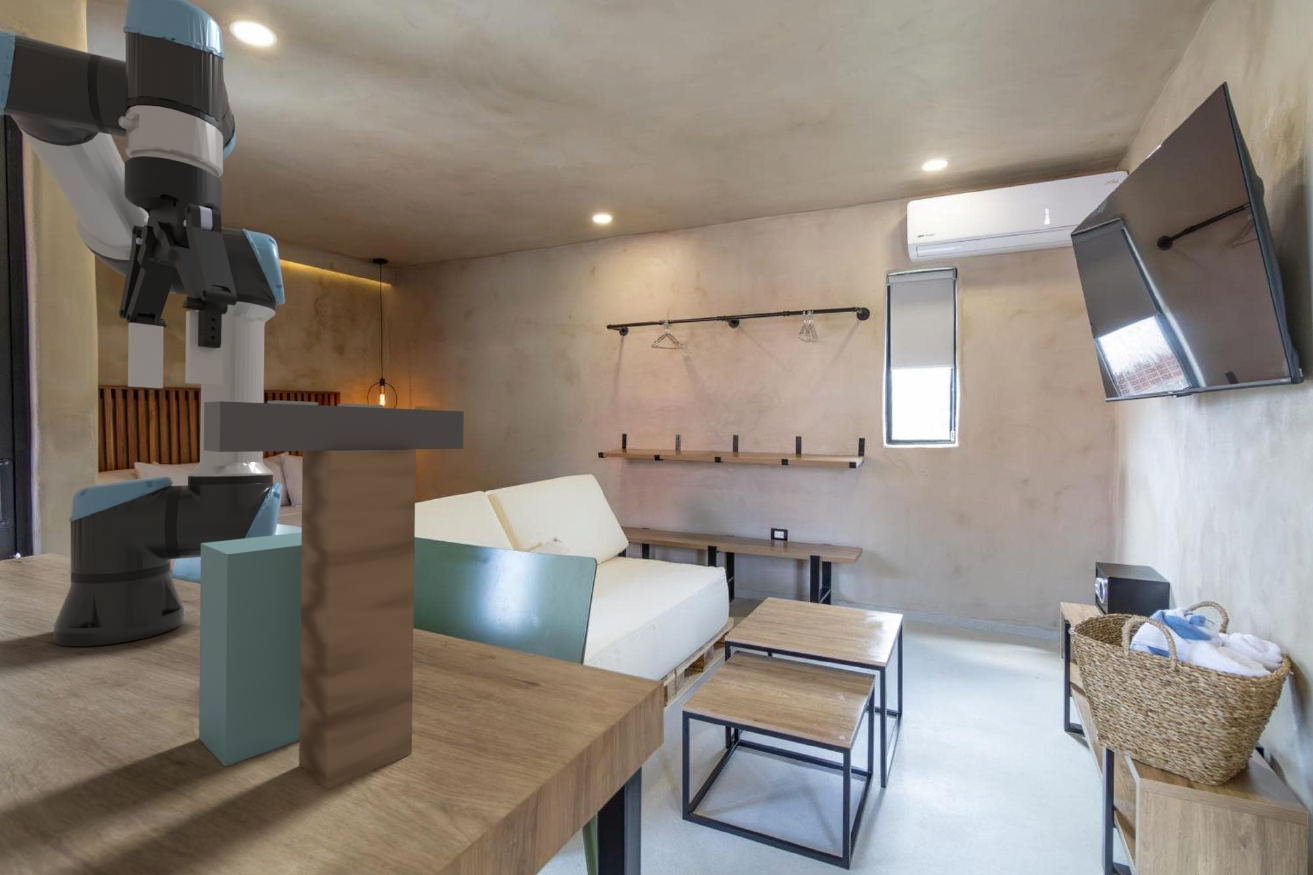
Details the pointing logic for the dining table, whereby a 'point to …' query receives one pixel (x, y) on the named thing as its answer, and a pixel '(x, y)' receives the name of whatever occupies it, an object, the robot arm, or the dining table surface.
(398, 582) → the walnut stand
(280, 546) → the teal block
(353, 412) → the power strip
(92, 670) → the dining table surface
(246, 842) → the dining table surface
